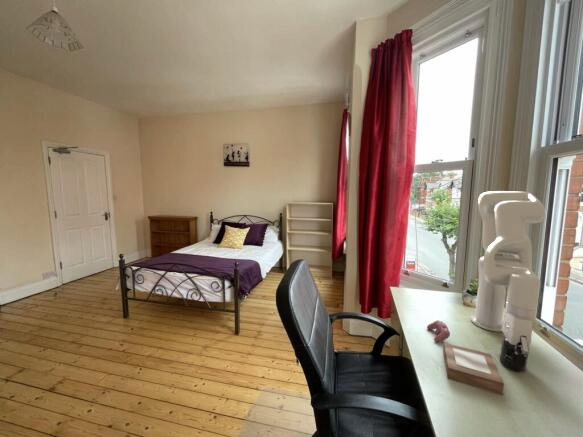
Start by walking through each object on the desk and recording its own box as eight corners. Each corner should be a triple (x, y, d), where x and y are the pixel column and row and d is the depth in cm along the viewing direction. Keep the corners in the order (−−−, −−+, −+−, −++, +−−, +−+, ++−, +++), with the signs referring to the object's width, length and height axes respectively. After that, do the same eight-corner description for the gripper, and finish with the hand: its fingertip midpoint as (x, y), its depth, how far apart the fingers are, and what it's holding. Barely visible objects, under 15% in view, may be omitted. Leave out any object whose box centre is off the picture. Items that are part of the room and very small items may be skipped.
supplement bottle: (504, 370, 82) (509, 337, 81) (496, 356, 89) (499, 326, 87) (530, 375, 80) (535, 342, 78) (519, 361, 86) (524, 330, 85)
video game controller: (444, 347, 96) (454, 333, 95) (433, 341, 97) (443, 327, 95) (435, 332, 106) (444, 320, 105) (425, 327, 106) (434, 314, 105)
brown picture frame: (443, 352, 91) (444, 342, 91) (489, 364, 85) (491, 353, 84) (447, 378, 79) (448, 367, 78) (502, 395, 73) (504, 382, 72)
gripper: (498, 296, 91) (492, 340, 93) (515, 319, 76) (508, 370, 78) (524, 301, 88) (518, 345, 90) (548, 325, 72) (539, 379, 75)
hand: (513, 357), depth 84 cm, fingers closed on supplement bottle, 6 cm apart
